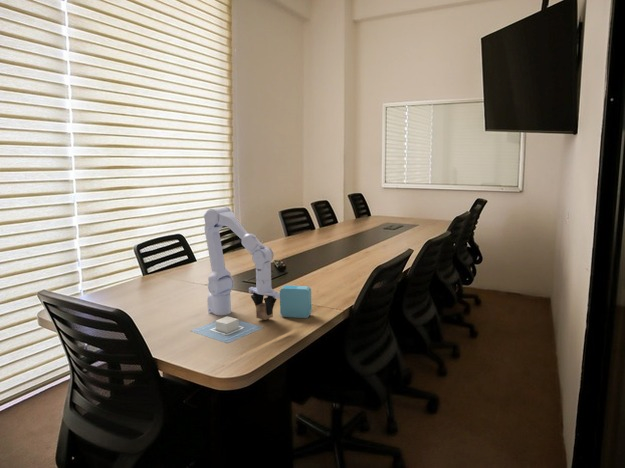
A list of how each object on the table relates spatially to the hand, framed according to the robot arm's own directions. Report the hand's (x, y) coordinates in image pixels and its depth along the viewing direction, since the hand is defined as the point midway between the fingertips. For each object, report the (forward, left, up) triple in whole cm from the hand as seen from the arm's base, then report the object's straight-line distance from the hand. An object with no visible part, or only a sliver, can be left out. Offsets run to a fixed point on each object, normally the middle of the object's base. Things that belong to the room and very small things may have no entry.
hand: (264, 313), depth 173 cm
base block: (-5, -15, -3) cm, 16 cm away
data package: (+5, +13, -4) cm, 15 cm away
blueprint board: (-5, -15, -4) cm, 16 cm away
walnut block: (0, 0, -2) cm, 2 cm away
